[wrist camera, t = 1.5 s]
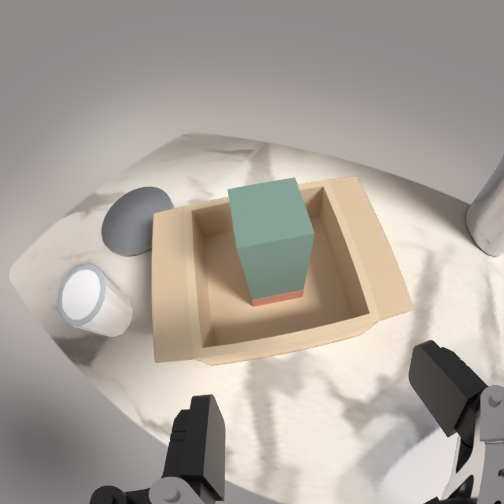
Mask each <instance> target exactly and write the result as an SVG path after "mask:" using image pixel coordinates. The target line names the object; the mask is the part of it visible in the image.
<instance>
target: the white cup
mask: <svg viewBox="0 0 504 504" xmlns="http://www.w3.org/2000/svg"><path fill="white" fill-rule="evenodd" d="M58 305H59V313H60V314H61V316H62V318H63V320H64V321H65V322H66V323H68V324H69V325H71V326H73V327H76V328H79V329H83V330H86V331H90V332H93V333H97V334H100V335H104V336H108V337H117V336H119V335H121V334H123V333H124V332H125V331H126V330H127V329H128V327H129V326H130V323H131V321H132V318H133V308H132V305H131V301H130V300H129V299H128V298H127V297H126V296H125V295H124V294H123V293H122V292H121V291H120V290H119V289H118V288H117V287H116V286H115V285H114V284H113V283H112V282H111V280H110V279H109V278H108V277H107V276H106V275H105V274H104V273H103V272H102V271H101V270H100V269H99V268H98V267H96V266H94V265H91V264H86V265H81V266H79V267H77V268H76V269H74V270H72V271H71V273H70V274H69V275H68V276H67V277H66V279H65V280H64V282H63V284H62V287H61V289H60V292H59V299H58Z"/></svg>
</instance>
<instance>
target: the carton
mask: <svg viewBox="0 0 504 504" xmlns="http://www.w3.org/2000/svg"><path fill="white" fill-rule="evenodd" d="M297 185H298V187H299V190H300V193H301V196H302V198H303V201H304V204H305V207H306V210H307V213H308V215H309V218H310V221H311V224H312V227H313V230H314V233H315V234H314V239H313V245H312V250H311V255H310V260H309V266H308V271H307V275H306V280H305V285H304V293H303V297H301V298H296V299H291V300H286V301H281V302H276V303H271V304H266V305H261V306H255V307H253V303H252V300H251V295H250V292H249V288H248V285H247V282H246V278H245V275H244V271H243V268H242V265H241V261H240V258H239V255H238V251H237V247H236V241H235V235H234V228H233V221H232V215H231V208H230V202H229V197H225V198H220V199H215V200H210V201H206V202H201V203H196V204H192V205H187V206H183V207H179V208H174V209H170V210H166V211H162V212H158V213H154V218H153V238H152V321H153V341H154V355H155V363H161V362H172V361H183V360H192V359H196V360H198V361H201V362H203V363H206V364H209V365H211V366H213V365H220V364H228V363H234V362H241V361H247V360H253V359H259V358H265V357H270V356H275V355H281V354H285V353H290V352H295V351H300V350H304V349H309V348H313V347H317V346H321V345H325V344H329V343H333V342H337V341H341V340H345V339H348V338H352V337H355V336H359V335H362V334H363V333H365V332H366V331H367V330H368V329H370V328H371V327H372V326H374V325H375V324H376V323H378V322H379V321H381V320H384V319H387V318H390V317H394V316H397V315H400V314H403V313H406V312H409V311H412V310H413V309H414V308H413V305H412V302H411V299H410V296H409V293H408V290H407V287H406V285H405V282H404V279H403V277H402V274H401V271H400V269H399V266H398V264H397V261H396V259H395V256H394V254H393V251H392V249H391V247H390V244H389V242H388V240H387V237H386V235H385V233H384V231H383V228H382V226H381V224H380V222H379V220H378V218H377V215H376V213H375V211H374V209H373V207H372V205H371V203H370V201H369V199H368V197H367V195H366V193H365V191H364V189H363V187H362V186H361V184H360V182H359V180H358V178H357V176H354V177H346V178H339V179H331V180H324V181H317V182H310V183H304V184H297Z"/></svg>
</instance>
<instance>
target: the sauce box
mask: <svg viewBox="0 0 504 504" xmlns="http://www.w3.org/2000/svg"><path fill="white" fill-rule="evenodd" d="M228 195H229V202H230V208H231V215H232V221H233V228H234V235H235V241H236V247H237V251H238V255H239V258H240V261H241V265H242V268H243V271H244V275H245V278H246V282H247V285H248V288H249V292H250V295H251V300H252V303H253V307H255V306H261V305H266V304H271V303H276V302H281V301H286V300H291V299H296V298H301V297H303V293H304V285H305V280H306V275H307V271H308V266H309V260H310V255H311V250H312V245H313V239H314V234H315V233H314V230H313V227H312V224H311V221H310V218H309V215H308V213H307V210H306V207H305V204H304V201H303V198H302V196H301V193H300V190H299V187H298V185H297V182H296V179H295V178H289V179H283V180H277V181H271V182H265V183H260V184H254V185H249V186H243V187H238V188H233V189H228Z"/></svg>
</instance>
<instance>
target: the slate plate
mask: <svg viewBox="0 0 504 504" xmlns="http://www.w3.org/2000/svg"><path fill="white" fill-rule="evenodd" d="M170 209H174V208H173V204H172V202H171V200H170V198H169V196H168V195H167V194H166V193H165V192H164V191H163V190H161V189H159V188H155V187H143V188H138V189H135V190H133V191H131V192H129V193H127V194H125V195H124V196H122V197H121V198H120V199H119V200H118V201H116V202H115V204H114V205H113V206H112V207H111V208H110V210H109V211H108V213H107V215H106V217H105V219H104V222H103V227H102V236H103V240H104V242H105V244H106V245H107V246H108V247H109V248H110V249H111V250H112V251H113V252H114V253H116V254H118V255H121V256H136V255H140V254H142V253H145V252H146V251H148V250H150V249H152V238H153V218H154V213H158V212H162V211H166V210H170Z"/></svg>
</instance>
